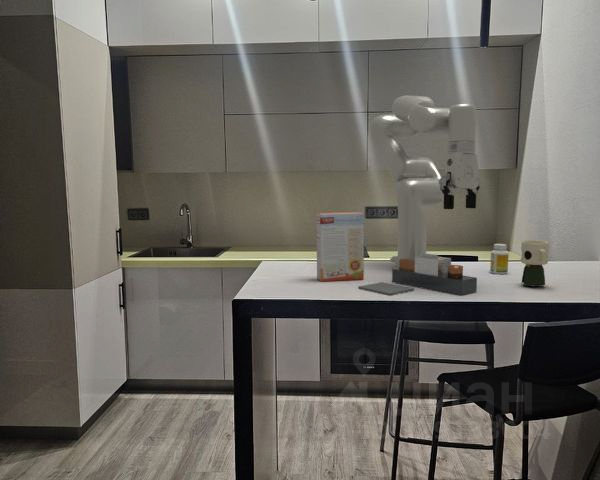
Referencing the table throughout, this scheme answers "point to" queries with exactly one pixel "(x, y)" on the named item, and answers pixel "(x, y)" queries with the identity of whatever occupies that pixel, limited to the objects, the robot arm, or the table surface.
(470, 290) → the body
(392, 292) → the rubber mat
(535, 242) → the character mug
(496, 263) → the supplement bottle
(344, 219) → the cracker box
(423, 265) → the lever cap
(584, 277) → the table surface
